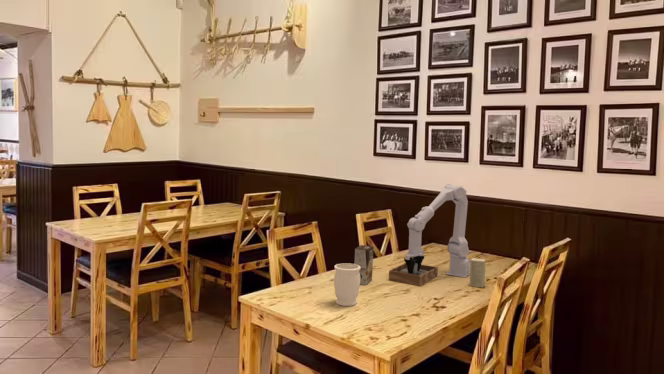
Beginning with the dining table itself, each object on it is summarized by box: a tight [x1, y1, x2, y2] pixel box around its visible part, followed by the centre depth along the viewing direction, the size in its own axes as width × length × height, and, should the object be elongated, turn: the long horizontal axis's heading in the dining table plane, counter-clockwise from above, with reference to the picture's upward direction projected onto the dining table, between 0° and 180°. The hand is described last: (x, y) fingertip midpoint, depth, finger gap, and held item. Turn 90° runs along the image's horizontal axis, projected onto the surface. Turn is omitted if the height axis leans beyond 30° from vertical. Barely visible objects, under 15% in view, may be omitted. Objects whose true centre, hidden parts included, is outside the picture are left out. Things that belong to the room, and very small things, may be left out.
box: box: [388, 262, 439, 287], centre depth 251 cm, size 20×16×4 cm
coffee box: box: [353, 244, 374, 286], centre depth 242 cm, size 9×6×16 cm
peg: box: [409, 263, 418, 275], centre depth 251 cm, size 4×4×7 cm
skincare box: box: [469, 257, 486, 288], centre depth 242 cm, size 6×4×12 cm
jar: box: [333, 262, 361, 307], centre depth 212 cm, size 11×10×15 cm
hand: (413, 272), depth 251 cm, fingers open, 6 cm apart
